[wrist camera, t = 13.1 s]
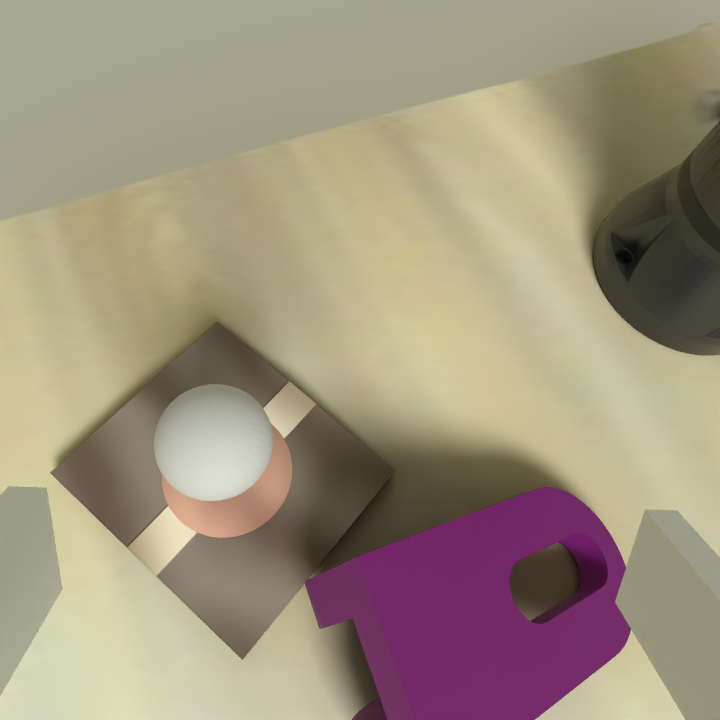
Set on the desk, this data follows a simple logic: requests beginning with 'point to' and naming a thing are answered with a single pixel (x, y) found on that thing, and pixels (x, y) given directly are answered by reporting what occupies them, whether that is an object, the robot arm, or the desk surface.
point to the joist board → (234, 515)
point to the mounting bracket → (478, 613)
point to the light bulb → (213, 442)
